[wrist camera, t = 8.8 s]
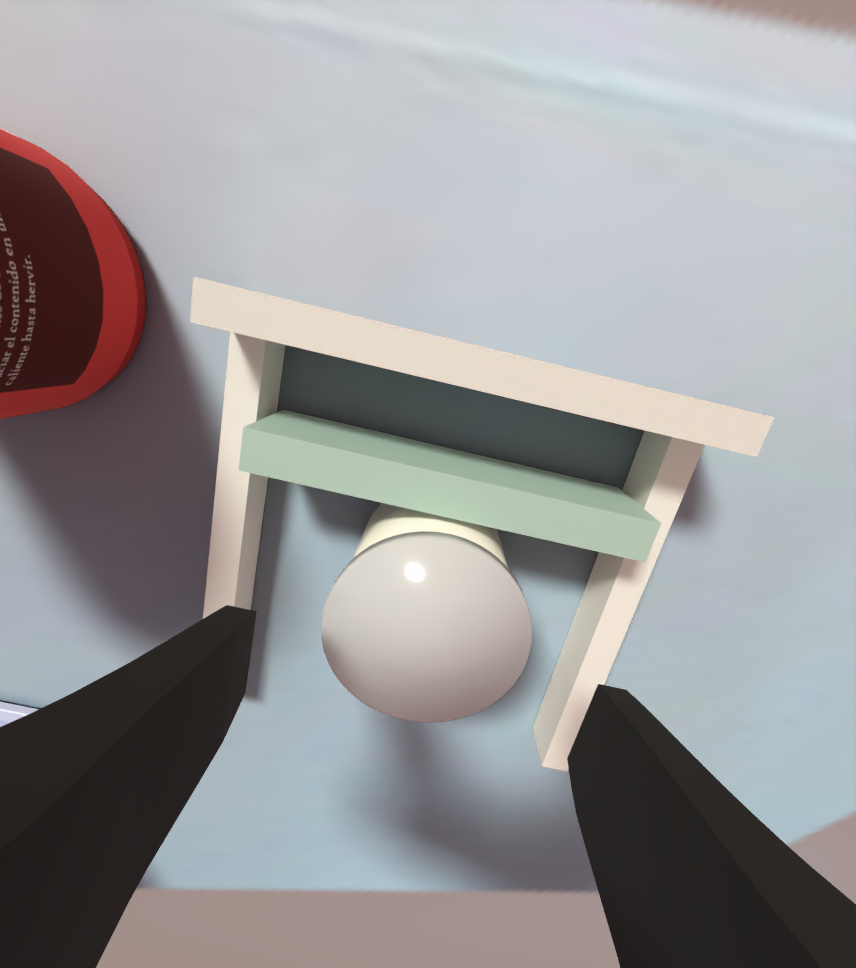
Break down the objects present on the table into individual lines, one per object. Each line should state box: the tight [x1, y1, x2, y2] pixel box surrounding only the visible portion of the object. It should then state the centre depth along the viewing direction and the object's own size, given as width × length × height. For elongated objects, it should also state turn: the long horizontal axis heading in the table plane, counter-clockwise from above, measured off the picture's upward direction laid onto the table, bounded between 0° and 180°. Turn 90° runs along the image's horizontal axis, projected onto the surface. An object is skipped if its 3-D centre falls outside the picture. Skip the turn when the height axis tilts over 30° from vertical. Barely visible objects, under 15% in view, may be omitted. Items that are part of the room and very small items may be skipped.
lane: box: [190, 277, 774, 771], centre depth 15 cm, size 14×14×4 cm
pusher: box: [239, 410, 661, 562], centre depth 14 cm, size 11×1×3 cm, turn 77°
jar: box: [321, 503, 532, 722], centre depth 14 cm, size 5×5×5 cm
